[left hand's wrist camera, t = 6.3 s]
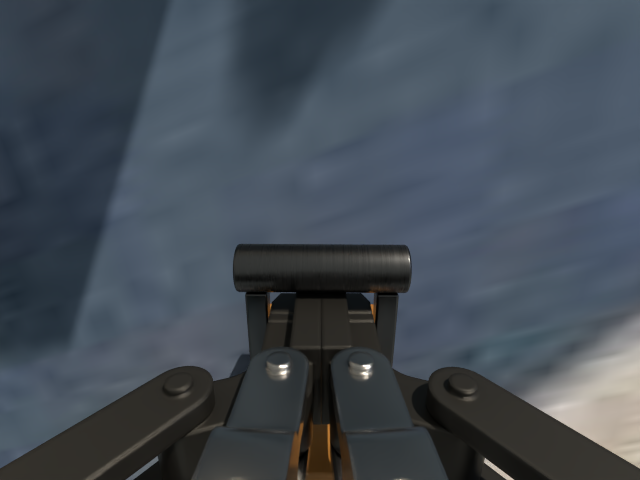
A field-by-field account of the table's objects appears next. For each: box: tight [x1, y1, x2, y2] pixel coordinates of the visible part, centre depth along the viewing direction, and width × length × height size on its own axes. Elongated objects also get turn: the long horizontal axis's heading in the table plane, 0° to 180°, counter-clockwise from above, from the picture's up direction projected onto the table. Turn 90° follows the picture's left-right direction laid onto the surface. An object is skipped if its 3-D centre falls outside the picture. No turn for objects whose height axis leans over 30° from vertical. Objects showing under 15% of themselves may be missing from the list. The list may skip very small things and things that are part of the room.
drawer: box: [233, 244, 412, 480], centre depth 16 cm, size 22×5×9 cm, turn 0°
